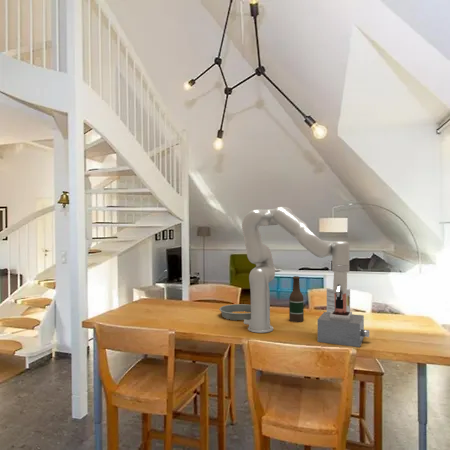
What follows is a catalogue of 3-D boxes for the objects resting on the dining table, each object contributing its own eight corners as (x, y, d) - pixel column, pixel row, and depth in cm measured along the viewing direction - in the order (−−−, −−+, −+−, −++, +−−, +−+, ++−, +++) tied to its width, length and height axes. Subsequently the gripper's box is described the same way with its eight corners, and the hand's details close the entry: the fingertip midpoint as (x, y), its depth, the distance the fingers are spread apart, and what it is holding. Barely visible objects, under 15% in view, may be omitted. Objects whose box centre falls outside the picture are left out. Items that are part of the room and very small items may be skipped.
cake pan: (270, 319, 213) (269, 311, 213) (229, 323, 204) (229, 315, 204) (250, 309, 236) (250, 302, 236) (213, 313, 227) (213, 305, 227)
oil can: (334, 322, 174) (333, 289, 174) (336, 319, 178) (335, 287, 178) (346, 323, 171) (345, 290, 171) (347, 320, 176) (346, 288, 176)
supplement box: (340, 322, 205) (340, 290, 205) (326, 318, 212) (325, 288, 212) (350, 319, 211) (350, 288, 211) (336, 315, 218) (336, 286, 218)
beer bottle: (302, 318, 212) (301, 275, 212) (305, 322, 204) (305, 277, 204) (288, 318, 212) (287, 275, 212) (290, 322, 204) (290, 277, 204)
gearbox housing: (317, 341, 172) (317, 315, 171) (324, 332, 186) (324, 307, 186) (367, 348, 163) (367, 319, 162) (370, 337, 177) (370, 311, 177)
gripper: (335, 265, 184) (335, 302, 184) (328, 270, 168) (329, 309, 169) (351, 266, 181) (352, 303, 181) (346, 271, 165) (346, 311, 165)
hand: (340, 306), depth 175 cm, fingers open, 8 cm apart
